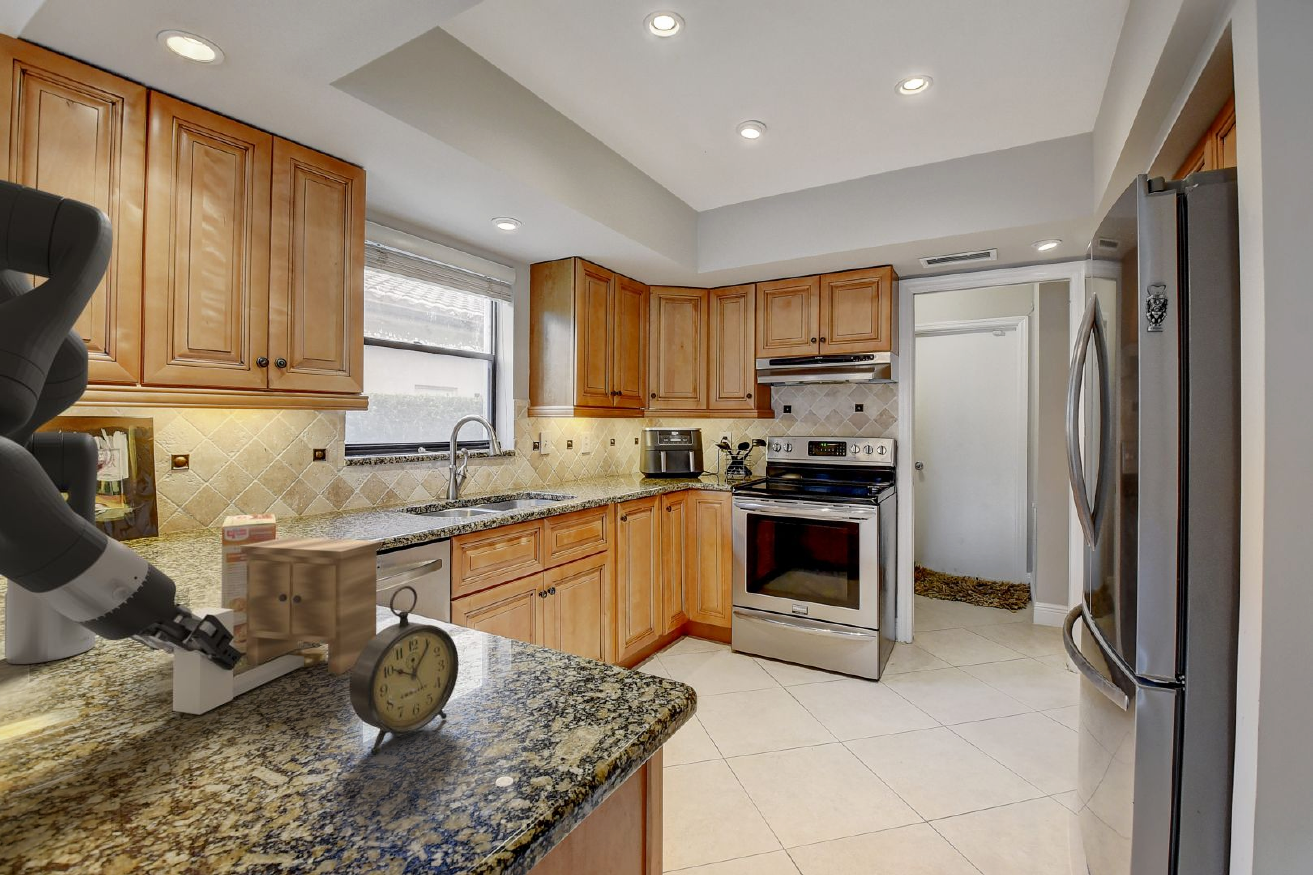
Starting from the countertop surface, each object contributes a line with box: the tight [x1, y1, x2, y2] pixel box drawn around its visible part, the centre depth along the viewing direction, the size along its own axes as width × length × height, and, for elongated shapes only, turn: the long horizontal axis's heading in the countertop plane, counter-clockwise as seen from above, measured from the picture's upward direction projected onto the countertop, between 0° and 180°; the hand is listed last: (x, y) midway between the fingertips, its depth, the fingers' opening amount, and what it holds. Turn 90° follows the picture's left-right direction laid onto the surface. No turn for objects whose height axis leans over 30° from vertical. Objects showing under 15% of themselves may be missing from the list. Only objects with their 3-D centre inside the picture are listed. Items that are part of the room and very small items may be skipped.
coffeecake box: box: [220, 513, 277, 655], centre depth 93 cm, size 15×7×20 cm, turn 34°
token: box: [291, 647, 328, 669], centre depth 84 cm, size 4×4×1 cm
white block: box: [172, 606, 304, 715], centre depth 74 cm, size 4×15×11 cm, turn 166°
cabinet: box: [241, 536, 383, 675], centre depth 84 cm, size 17×8×17 cm, turn 76°
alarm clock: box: [349, 585, 460, 755], centre depth 63 cm, size 11×5×16 cm, turn 148°
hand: (219, 660), depth 71 cm, fingers closed on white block, 4 cm apart
